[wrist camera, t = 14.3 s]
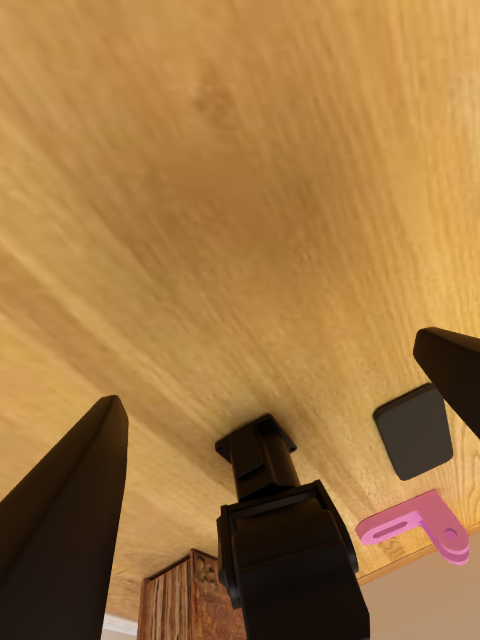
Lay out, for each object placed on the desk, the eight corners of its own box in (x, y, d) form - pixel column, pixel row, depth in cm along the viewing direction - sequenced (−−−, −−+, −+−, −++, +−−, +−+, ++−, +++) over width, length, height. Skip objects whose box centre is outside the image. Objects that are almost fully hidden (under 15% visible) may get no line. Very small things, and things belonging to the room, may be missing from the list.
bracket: (434, 489, 42) (476, 544, 36) (436, 505, 45) (476, 559, 39) (352, 524, 43) (380, 584, 37) (359, 538, 46) (386, 596, 40)
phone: (441, 384, 29) (455, 458, 37) (435, 378, 30) (449, 452, 37) (374, 417, 30) (401, 483, 37) (370, 411, 30) (396, 477, 38)
